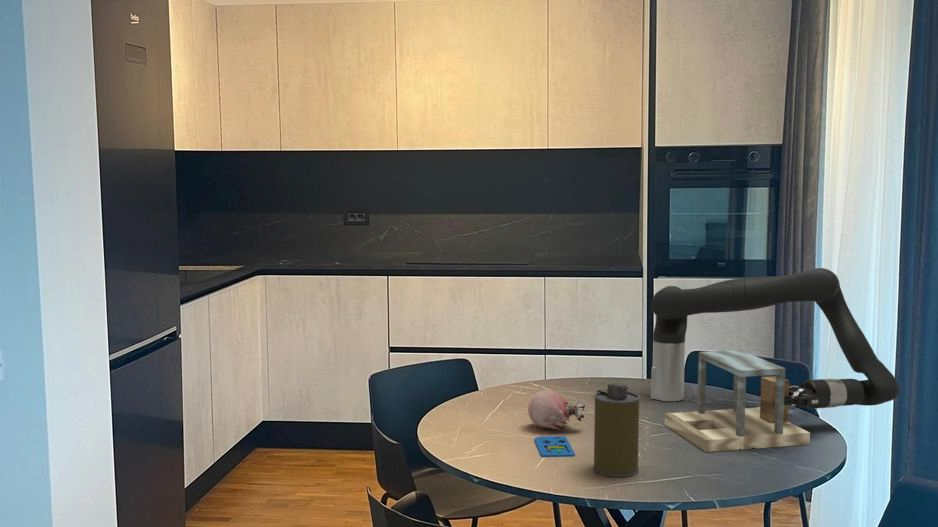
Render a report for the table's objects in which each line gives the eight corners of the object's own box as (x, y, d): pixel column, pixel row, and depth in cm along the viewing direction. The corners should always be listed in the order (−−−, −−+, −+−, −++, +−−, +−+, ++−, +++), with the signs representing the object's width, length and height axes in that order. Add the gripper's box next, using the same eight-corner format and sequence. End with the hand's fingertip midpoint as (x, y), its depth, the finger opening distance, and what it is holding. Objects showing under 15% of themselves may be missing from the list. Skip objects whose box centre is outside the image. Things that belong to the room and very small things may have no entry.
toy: (588, 417, 249) (533, 410, 253) (589, 383, 245) (533, 377, 248) (581, 443, 239) (524, 435, 242) (581, 408, 234) (524, 401, 238)
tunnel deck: (705, 452, 224) (707, 373, 222) (664, 424, 247) (666, 352, 245) (809, 444, 230) (812, 367, 228) (759, 418, 253) (762, 348, 251)
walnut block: (769, 423, 237) (771, 381, 236) (759, 418, 242) (761, 377, 241) (787, 422, 239) (789, 380, 237) (777, 416, 243) (778, 376, 242)
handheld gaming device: (565, 434, 236) (575, 453, 221) (565, 439, 236) (575, 457, 221) (533, 435, 235) (541, 454, 220) (533, 439, 235) (541, 458, 220)
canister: (648, 472, 210) (650, 386, 208) (613, 480, 204) (615, 392, 202) (616, 458, 219) (617, 376, 217) (582, 467, 213) (583, 382, 211)
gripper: (809, 373, 249) (754, 376, 246) (840, 386, 235) (783, 389, 232) (807, 400, 250) (753, 403, 247) (839, 414, 236) (782, 418, 233)
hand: (767, 396), depth 239 cm, fingers open, 8 cm apart
